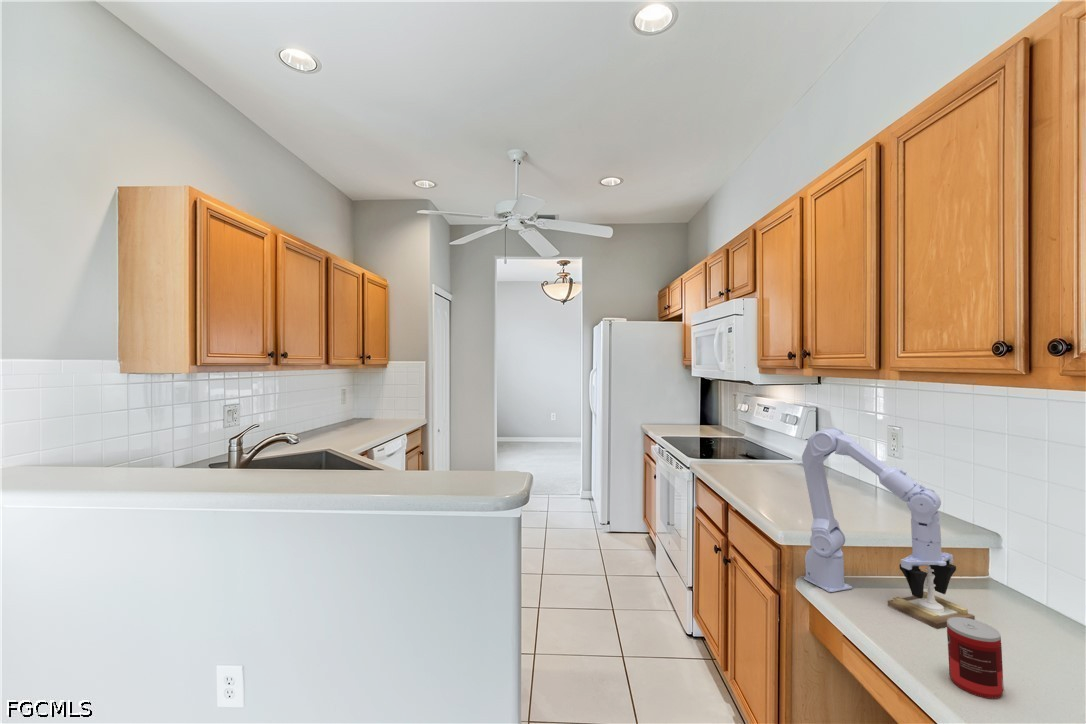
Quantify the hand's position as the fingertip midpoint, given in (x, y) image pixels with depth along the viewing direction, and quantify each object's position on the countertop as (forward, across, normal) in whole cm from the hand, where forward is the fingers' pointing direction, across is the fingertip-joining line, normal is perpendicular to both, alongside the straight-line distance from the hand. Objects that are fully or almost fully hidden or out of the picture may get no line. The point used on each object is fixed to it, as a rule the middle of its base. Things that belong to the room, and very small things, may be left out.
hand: (928, 594), depth 119 cm
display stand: (+4, 0, 0) cm, 4 cm away
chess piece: (+3, 0, 0) cm, 3 cm away
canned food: (+5, -20, -23) cm, 31 cm away
